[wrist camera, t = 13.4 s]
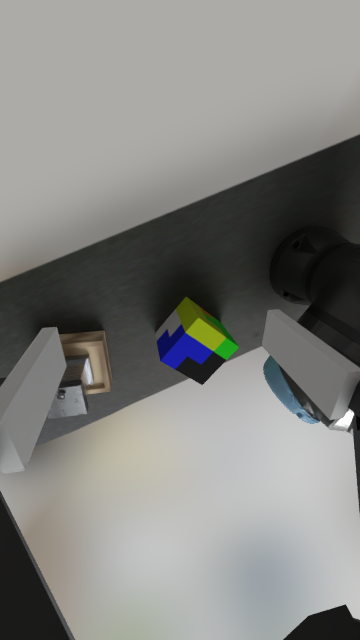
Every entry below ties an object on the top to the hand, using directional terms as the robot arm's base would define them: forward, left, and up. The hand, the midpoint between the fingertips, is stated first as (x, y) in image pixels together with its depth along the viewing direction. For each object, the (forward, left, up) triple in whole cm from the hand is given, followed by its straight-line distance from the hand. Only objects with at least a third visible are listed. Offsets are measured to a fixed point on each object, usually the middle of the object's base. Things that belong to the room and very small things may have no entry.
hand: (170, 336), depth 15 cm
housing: (+15, +21, -28) cm, 38 cm away
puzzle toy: (-8, +16, -31) cm, 36 cm away
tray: (+15, +21, -31) cm, 40 cm away
